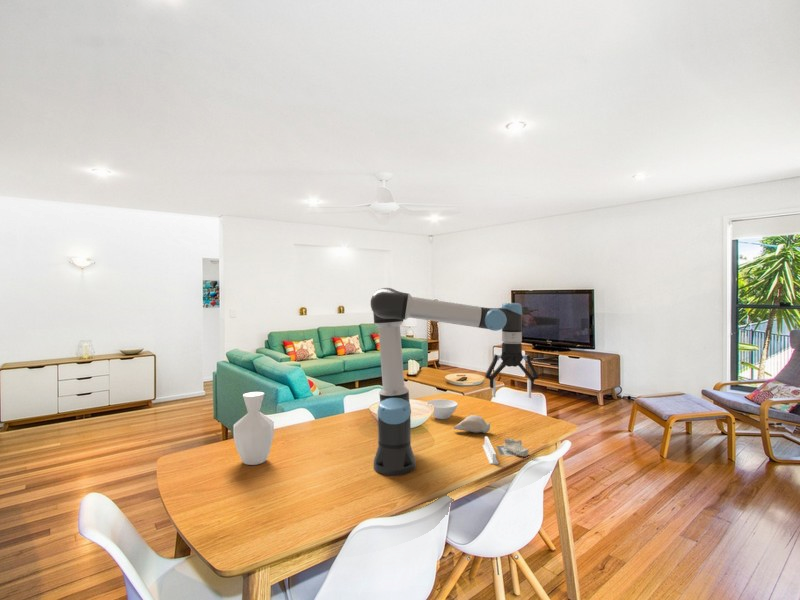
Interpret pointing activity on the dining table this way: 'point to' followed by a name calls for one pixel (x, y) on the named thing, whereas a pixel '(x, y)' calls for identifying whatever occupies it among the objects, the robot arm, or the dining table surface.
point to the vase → (253, 431)
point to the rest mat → (505, 451)
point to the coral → (516, 447)
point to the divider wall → (490, 451)
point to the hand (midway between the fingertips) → (511, 396)
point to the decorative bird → (473, 424)
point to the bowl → (443, 408)
